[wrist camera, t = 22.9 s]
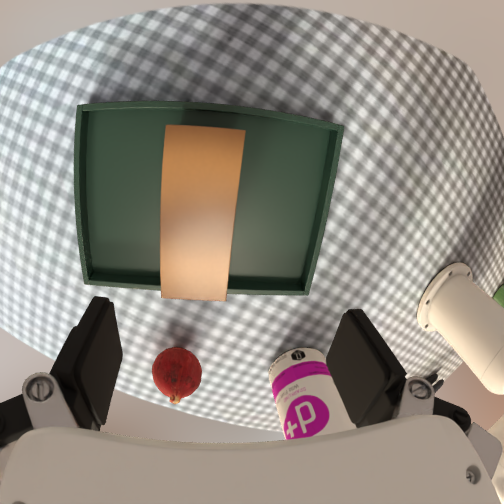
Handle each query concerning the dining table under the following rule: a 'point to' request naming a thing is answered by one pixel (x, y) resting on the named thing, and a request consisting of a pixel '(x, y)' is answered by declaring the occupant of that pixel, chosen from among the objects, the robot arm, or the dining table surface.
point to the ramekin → (500, 296)
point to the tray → (248, 200)
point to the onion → (176, 373)
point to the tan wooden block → (198, 210)
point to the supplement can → (307, 395)
